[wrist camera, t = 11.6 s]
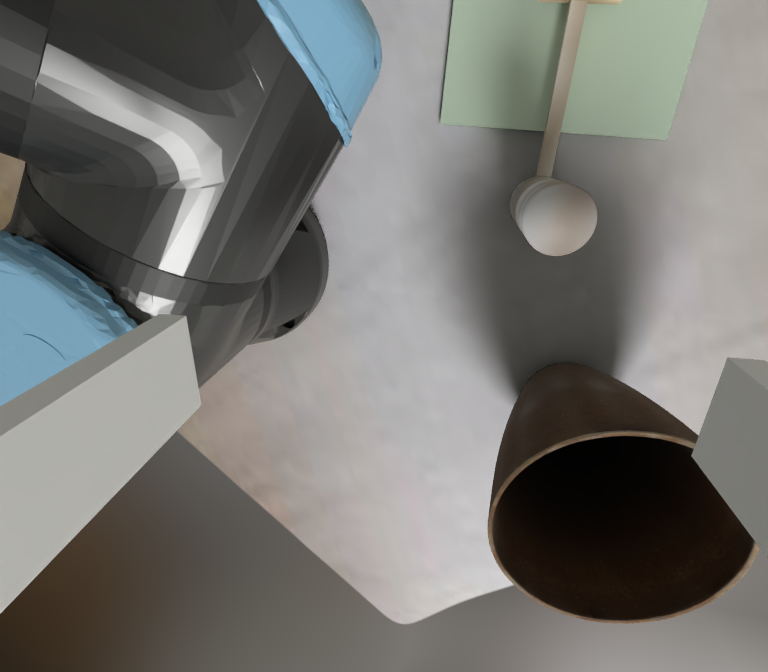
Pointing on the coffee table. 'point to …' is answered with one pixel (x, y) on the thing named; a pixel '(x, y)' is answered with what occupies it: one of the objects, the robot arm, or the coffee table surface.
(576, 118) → the mat
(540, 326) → the coffee table surface
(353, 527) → the coffee table surface
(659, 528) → the plant pot
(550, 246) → the tethered block
